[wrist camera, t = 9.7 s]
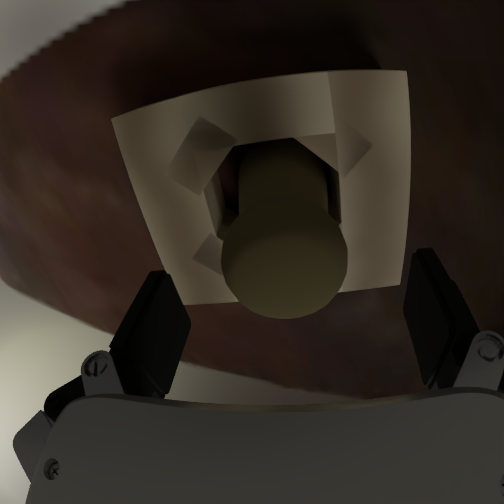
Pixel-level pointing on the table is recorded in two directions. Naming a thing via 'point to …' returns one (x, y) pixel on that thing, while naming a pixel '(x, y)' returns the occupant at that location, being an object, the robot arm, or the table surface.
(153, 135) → the jig
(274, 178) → the cork
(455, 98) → the table surface
